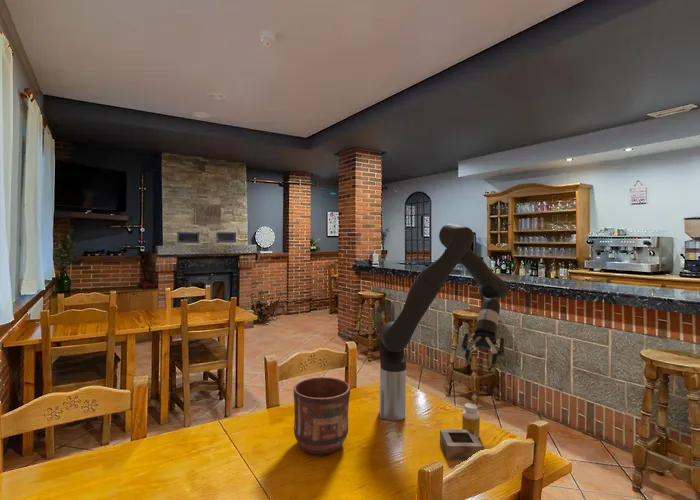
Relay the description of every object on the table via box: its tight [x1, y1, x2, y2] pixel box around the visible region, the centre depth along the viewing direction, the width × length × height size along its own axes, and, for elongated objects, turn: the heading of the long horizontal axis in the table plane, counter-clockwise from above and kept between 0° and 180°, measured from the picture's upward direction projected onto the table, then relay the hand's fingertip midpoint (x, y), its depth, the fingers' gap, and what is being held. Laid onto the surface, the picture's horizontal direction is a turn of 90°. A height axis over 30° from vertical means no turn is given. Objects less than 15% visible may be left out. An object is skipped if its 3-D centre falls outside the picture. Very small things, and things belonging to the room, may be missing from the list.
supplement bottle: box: [461, 402, 481, 439], centre depth 127 cm, size 5×5×10 cm
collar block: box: [439, 428, 484, 461], centre depth 117 cm, size 10×10×4 cm
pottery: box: [293, 376, 351, 456], centre depth 119 cm, size 18×18×18 cm
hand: (480, 362), depth 136 cm, fingers open, 8 cm apart
